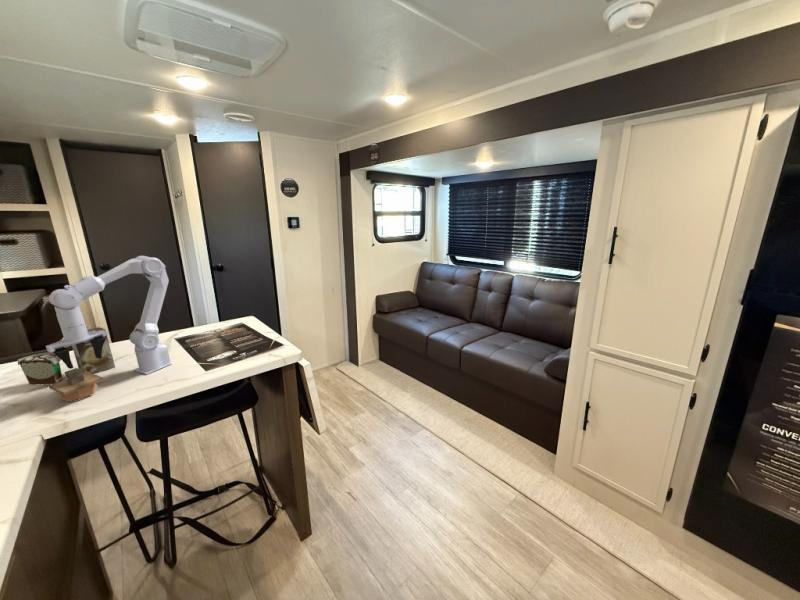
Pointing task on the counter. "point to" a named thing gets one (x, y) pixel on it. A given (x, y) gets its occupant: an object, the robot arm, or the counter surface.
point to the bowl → (79, 393)
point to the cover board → (72, 388)
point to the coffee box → (93, 356)
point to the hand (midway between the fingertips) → (85, 362)
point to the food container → (41, 368)
